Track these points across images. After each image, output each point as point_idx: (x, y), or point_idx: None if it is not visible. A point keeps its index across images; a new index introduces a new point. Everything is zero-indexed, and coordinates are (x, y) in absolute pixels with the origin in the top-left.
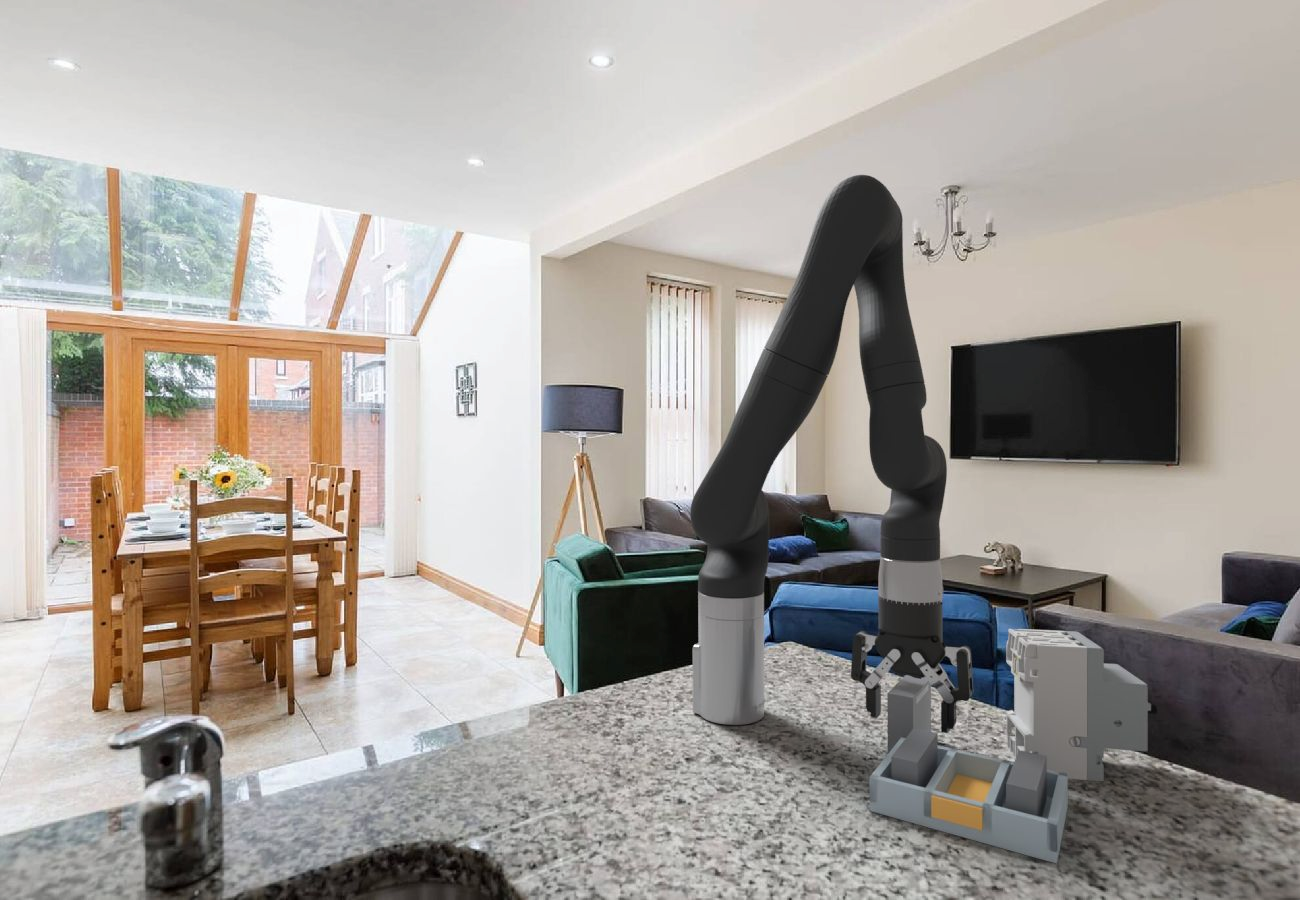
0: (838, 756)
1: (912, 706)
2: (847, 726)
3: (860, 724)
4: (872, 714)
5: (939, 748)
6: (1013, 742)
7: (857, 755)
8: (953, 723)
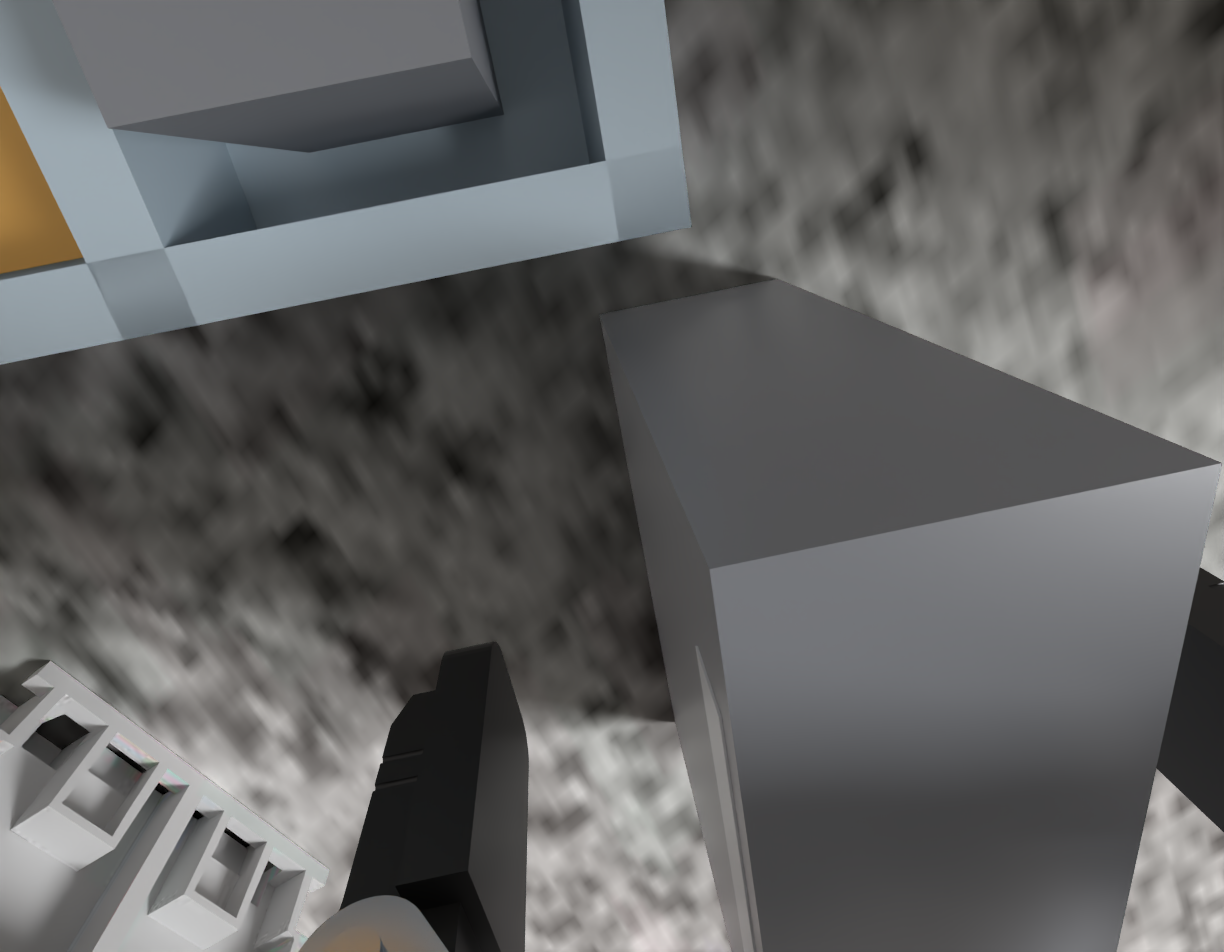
0: (1099, 33)
1: (684, 487)
2: None
3: None
4: None
5: (259, 232)
6: (189, 882)
7: (976, 169)
8: (393, 738)
